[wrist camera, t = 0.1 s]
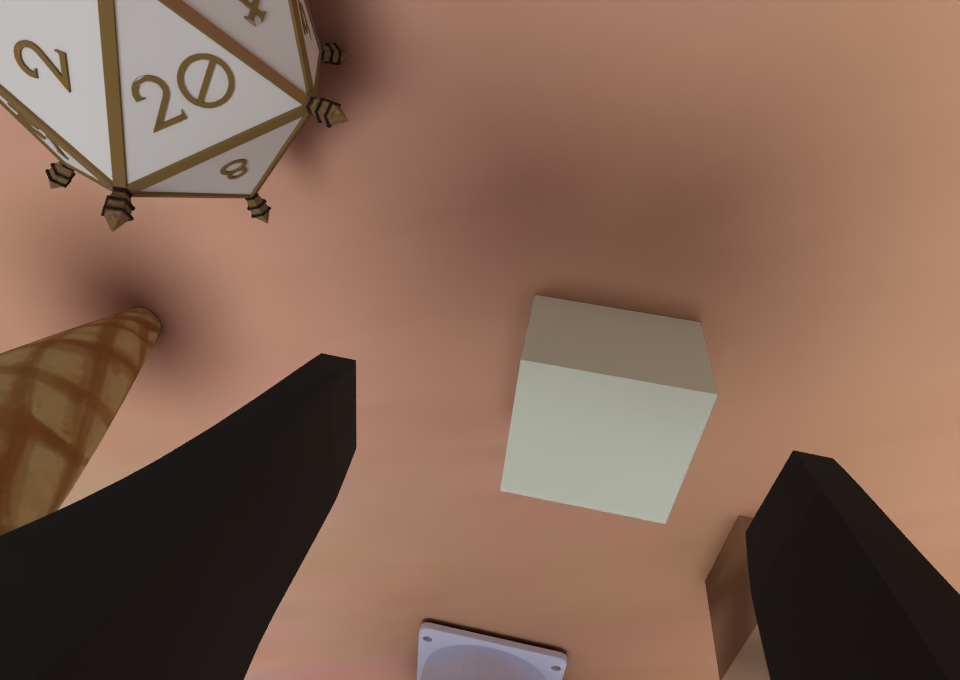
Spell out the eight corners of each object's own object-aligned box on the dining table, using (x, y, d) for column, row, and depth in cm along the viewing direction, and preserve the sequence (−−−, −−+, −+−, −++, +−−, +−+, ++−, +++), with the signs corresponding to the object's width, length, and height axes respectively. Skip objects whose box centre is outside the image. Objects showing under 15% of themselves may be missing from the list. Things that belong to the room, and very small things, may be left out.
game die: (314, -59, 19) (330, -390, 9) (366, 214, 20) (426, 175, 11) (-17, -51, 16) (-460, -483, 7) (70, 257, 18) (-191, 257, 8)
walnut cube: (809, 601, 26) (841, 709, 22) (704, 579, 26) (720, 682, 23) (854, 536, 23) (900, 647, 20) (738, 513, 24) (761, 617, 20)
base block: (657, 440, 23) (665, 524, 19) (515, 414, 23) (500, 491, 20) (699, 319, 20) (718, 394, 16) (535, 292, 20) (520, 359, 17)
